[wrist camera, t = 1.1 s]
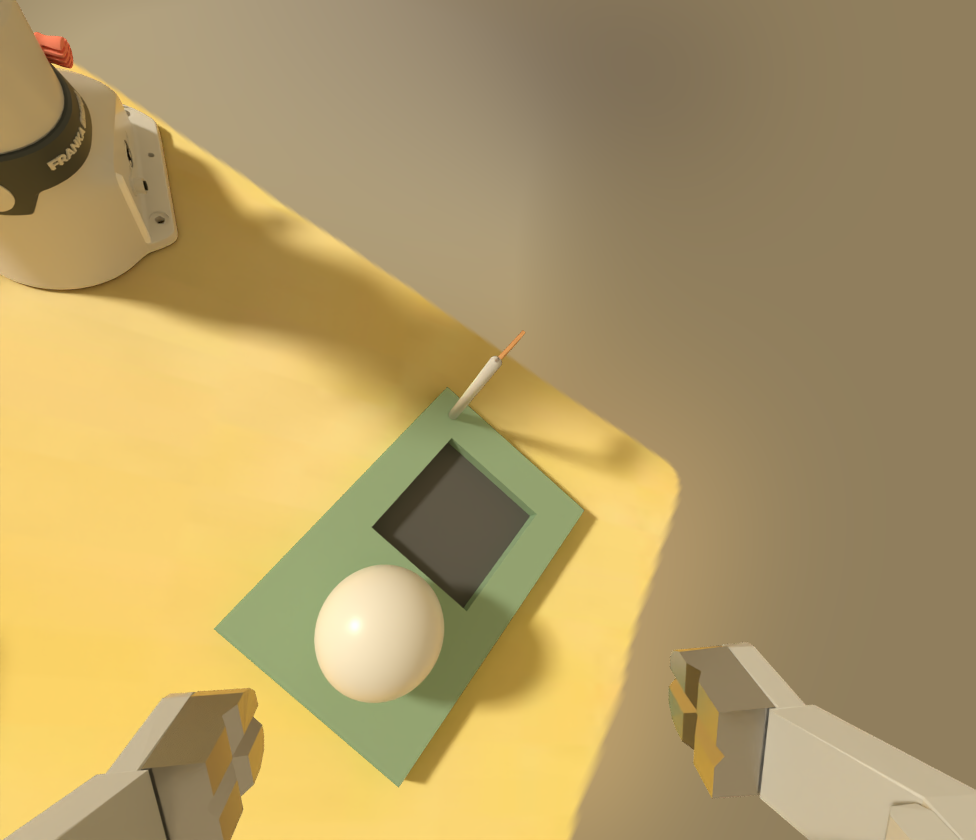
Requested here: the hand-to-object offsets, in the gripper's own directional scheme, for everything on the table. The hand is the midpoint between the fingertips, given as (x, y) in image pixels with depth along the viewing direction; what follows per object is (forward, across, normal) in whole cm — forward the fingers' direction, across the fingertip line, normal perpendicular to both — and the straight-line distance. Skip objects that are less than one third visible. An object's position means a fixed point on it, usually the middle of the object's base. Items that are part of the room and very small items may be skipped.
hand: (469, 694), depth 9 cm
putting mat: (+36, +4, +16) cm, 40 cm away
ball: (+26, +7, +17) cm, 32 cm away
